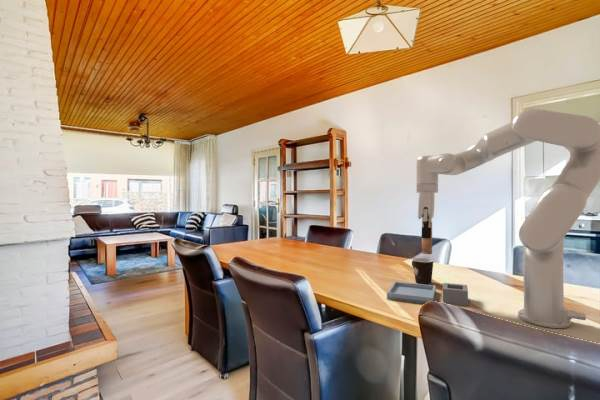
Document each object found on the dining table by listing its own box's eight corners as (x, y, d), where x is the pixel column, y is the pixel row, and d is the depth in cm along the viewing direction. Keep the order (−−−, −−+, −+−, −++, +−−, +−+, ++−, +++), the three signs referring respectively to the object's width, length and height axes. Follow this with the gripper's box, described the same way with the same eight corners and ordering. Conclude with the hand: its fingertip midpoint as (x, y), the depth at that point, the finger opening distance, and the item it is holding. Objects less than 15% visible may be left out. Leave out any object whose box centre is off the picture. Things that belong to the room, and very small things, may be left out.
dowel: (432, 252, 117) (432, 221, 117) (431, 254, 114) (431, 222, 114) (422, 251, 119) (422, 221, 119) (421, 253, 116) (421, 222, 115)
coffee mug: (436, 285, 130) (435, 262, 130) (414, 285, 132) (414, 262, 132) (430, 278, 142) (429, 256, 142) (410, 277, 143) (410, 256, 143)
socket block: (467, 298, 114) (467, 285, 114) (468, 305, 107) (467, 291, 107) (443, 295, 118) (443, 282, 118) (442, 302, 111) (442, 288, 110)
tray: (435, 291, 123) (435, 285, 123) (433, 305, 108) (432, 298, 108) (394, 287, 130) (394, 281, 130) (387, 299, 116) (386, 292, 116)
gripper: (419, 189, 125) (418, 233, 125) (413, 189, 110) (413, 239, 111) (439, 188, 121) (438, 235, 122) (436, 188, 107) (436, 241, 107)
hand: (426, 236), depth 116 cm, fingers closed on dowel, 3 cm apart
